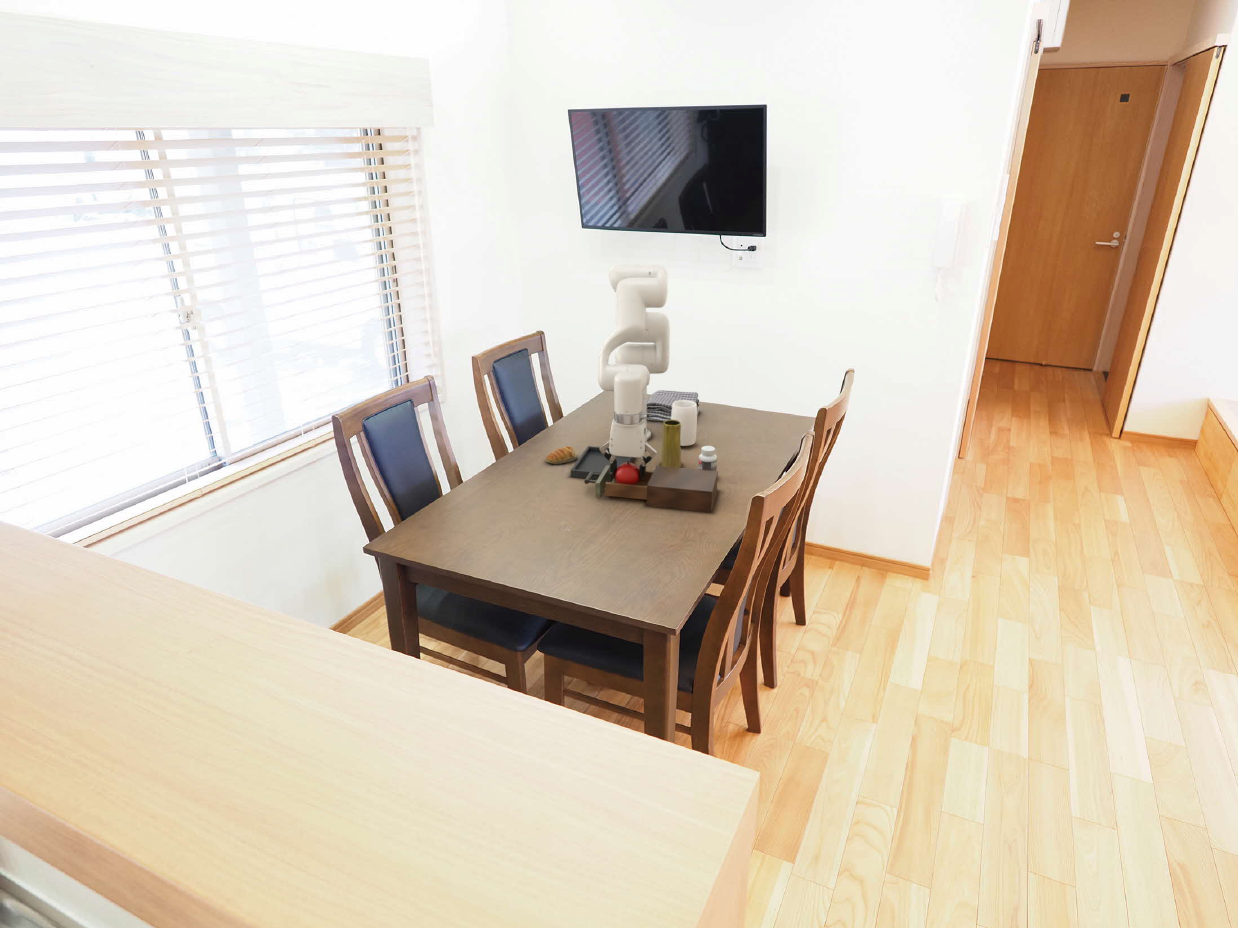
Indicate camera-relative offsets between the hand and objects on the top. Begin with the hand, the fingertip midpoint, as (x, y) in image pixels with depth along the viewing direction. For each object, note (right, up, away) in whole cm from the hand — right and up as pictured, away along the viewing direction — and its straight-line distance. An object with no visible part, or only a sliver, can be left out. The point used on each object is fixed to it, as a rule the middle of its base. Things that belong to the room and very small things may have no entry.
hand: (628, 475), depth 222 cm
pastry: (-20, +4, +25) cm, 32 cm away
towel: (+17, +20, +61) cm, 66 cm away
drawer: (-2, -4, +2) cm, 5 cm away
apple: (0, -3, +1) cm, 3 cm away
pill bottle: (+24, -1, +11) cm, 26 cm away
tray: (-7, +3, +20) cm, 21 cm away
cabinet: (+15, -6, -1) cm, 17 cm away
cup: (+19, +9, +36) cm, 42 cm away
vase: (+13, +3, +20) cm, 24 cm away
